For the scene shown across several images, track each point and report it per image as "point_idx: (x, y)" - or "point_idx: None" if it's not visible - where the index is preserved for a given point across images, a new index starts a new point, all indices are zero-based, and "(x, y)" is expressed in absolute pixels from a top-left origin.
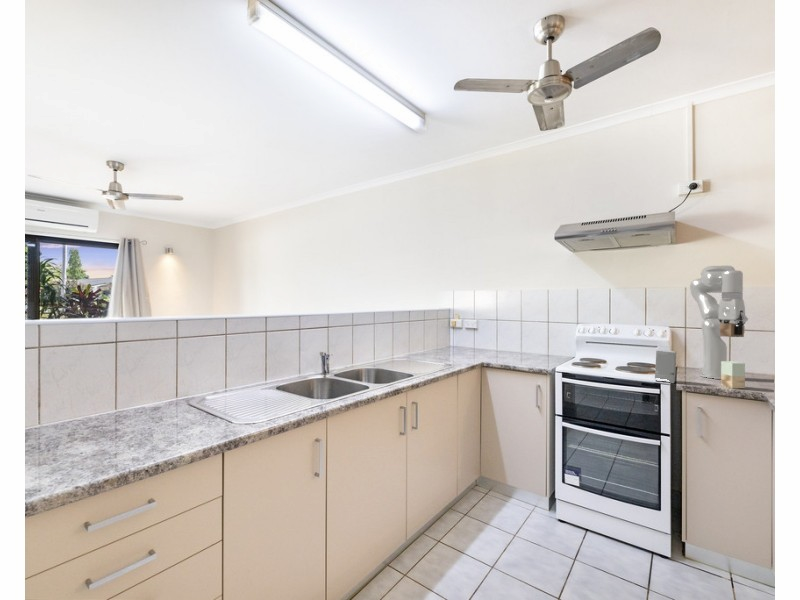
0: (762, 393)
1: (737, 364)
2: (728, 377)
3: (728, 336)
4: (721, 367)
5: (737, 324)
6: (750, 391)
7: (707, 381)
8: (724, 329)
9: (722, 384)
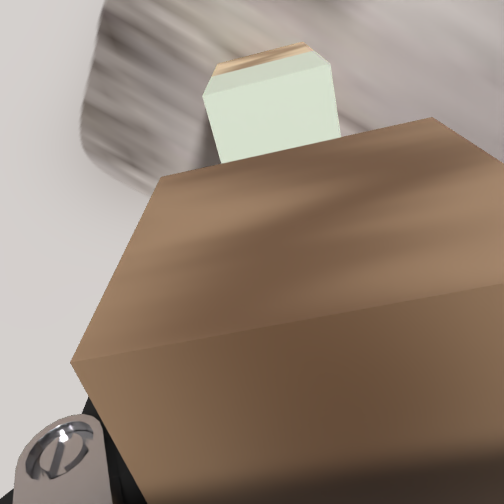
0: (131, 171)
1: (217, 143)
2: (245, 65)
3: (218, 165)
4: (319, 57)
5: (24, 475)
6: (168, 135)
7: (452, 28)
8: (344, 199)
9: (294, 45)
